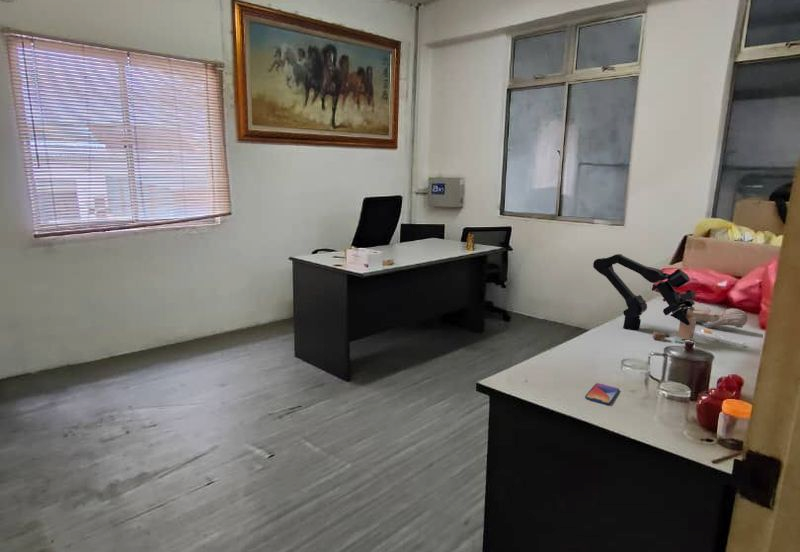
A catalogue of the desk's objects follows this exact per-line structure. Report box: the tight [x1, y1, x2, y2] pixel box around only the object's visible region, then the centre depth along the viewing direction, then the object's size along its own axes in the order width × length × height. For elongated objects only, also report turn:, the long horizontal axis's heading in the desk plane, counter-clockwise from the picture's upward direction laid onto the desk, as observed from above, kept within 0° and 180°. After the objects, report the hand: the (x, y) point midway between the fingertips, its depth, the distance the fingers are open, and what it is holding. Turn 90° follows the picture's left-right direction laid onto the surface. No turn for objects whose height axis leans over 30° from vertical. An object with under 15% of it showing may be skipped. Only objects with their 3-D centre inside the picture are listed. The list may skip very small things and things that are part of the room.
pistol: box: [694, 329, 746, 348], centre depth 221 cm, size 2×20×11 cm
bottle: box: [677, 306, 697, 340], centre depth 213 cm, size 5×5×14 cm
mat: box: [673, 335, 697, 346], centre depth 214 cm, size 8×8×1 cm
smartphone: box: [584, 383, 620, 406], centre depth 154 cm, size 7×15×1 cm, turn 145°
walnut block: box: [652, 331, 666, 342], centre depth 216 cm, size 4×4×3 cm
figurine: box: [692, 306, 748, 329], centre depth 241 cm, size 12×12×30 cm
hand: (691, 323), depth 212 cm, fingers closed on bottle, 4 cm apart
